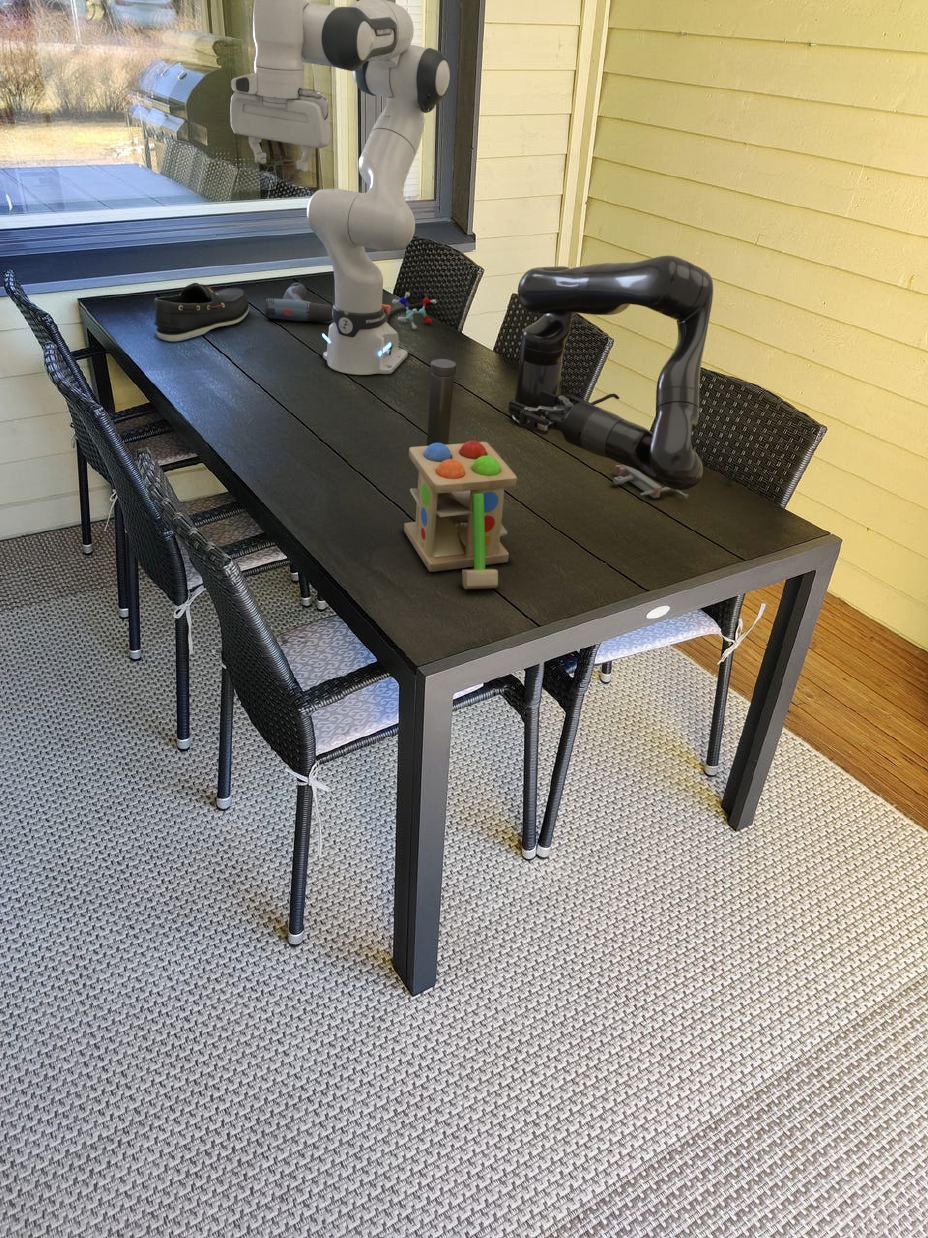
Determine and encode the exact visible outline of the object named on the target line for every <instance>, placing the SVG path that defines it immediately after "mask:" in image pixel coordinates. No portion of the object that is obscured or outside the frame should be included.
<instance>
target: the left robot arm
mask: <svg viewBox="0 0 928 1238" xmlns="http://www.w3.org/2000/svg"><path fill="white" fill-rule="evenodd" d="M252 11H253V13H252V14H253V15H252V17H253V18H252V20H253V21H252V29H253V30H252V31H253V40H254V44H255V51H256V52H255V59H254V72H250V73H247V74H244V75H240V76H237V77H234V78H232V79H231V82H230V83H231V89H232V91H234V92H233V94H232V95H231V98H230V126H231V129H232V131H233V133H234V134H235V135H241V136H246V137H248V144H249V146H250V148H251V150H252V153H253V154H254V163H255V164H261V165H263V164H266V163H267V153H266V152H263V149H262V147H261V144H260V143H261V142H262V140H268V141H274V142H280V143H284V144H285V143H286V144H291V145H297V146H300V152H301V153H302V156H301V158H300V159H298V160H296V161H295V162H296V171H297V172H303V173H305V172H308V170H309V161H310V159H311V157H312V155H313V153H314V149H324V148H327V147H328V146H329V144H330V143H331V141H332V140H331V139H332V136H331V135H332V133H331V124H330V115H329V114H330V103H329V100H328V99H327V97H326V96H325V95H324V94H323V92H321V91H318V90H315V91H314V90H310V89H305V67H304V64H305V63H306V64H312V65H319V66H324V67H325V66H326V67H332V68H337V69H340V70H345V71H349V72H352V74H353V79H354V82H355V84H356V86H357V88H358V89H359V90H360V91H361V92H363V93H365V94H367V95H370V96H371V97H372V96H374V97H377V96H378V97H381V98H384V99H386V105H385V107H384V108H383V110H382V112H381V113H380V114H379V116H378V118H377V119H376V121H375V123H374V125H373V127H372V129H371V131H370V134H369V135H368V138H367V140H366V143H365V145H364V147H363V149H362V152H361V154H360V156H359V158H358V171H359V175H360V177H361V178H362V180H363V182H364V183H365V184H366V185H367V186H368V187H369V188H368V190H367V191H366V192H358V191H353V190H347V189H344V188H343V189H342V188H323V189H322V188H321V189H318V190H316V191H315V192H314V193H313V194H312V196H311V197H310V198H309V200H308V203H307V207H306V218H307V222H308V225H309V227H310V229H311V231H312V232H313V233H314V234H315V235H316V236H317V238H319V240H320V241H321V243H322V244H323V246H324V248H325V250H326V252H327V254H328V256H329V259H330V262H331V266H332V271H333V279H334V281H333V282H334V303H333V305H332V307H333V311H332V314H333V320H332V323H331V324H330V325H329V326H328V336H326V335H325V333H322V334H321V335H322V337H323V339H324V340H325V341H326V342H327V346H326V347H327V348H326V351H324V352H323V353H322V358H323V359H324V360H326V362H327V363H326V365H327V366H328V367H329V368H330V369H332V370H334V371H336V372H339V373H341V374H342V373H343V374H347V375H356V376H369V375H379V374H380V375H389V374H392V373H393V372H394V371H395V370H396V369H397V368H398V367H399V366H400V365H401V364H402V363H403V361H405V360H406V359H407V357H408V356H409V354H408V353H409V351H407V350H405V349H403V348H401V347H399V345H400V344H399V343H400V342H399V341H400V340H399V339H400V337H399V333H398V331H397V330H396V329H394V328H393V327H392V325H391V324H390V322H389V319H390V318H391V317H392V316H393V315H394V314H397V313H400V312H403V311H407V310H406V308H405V306H404V305H403V306H401V307H398V308H394V309H393V310H391V308H392V306H391V305H390V304H385V303H383V292H384V290H383V288H384V277H383V276H384V275H383V273H382V271H381V269H380V268H379V266H377V265H376V264H375V263H374V262H373V261H372V260H371V259H370V257H369V256H368V253H367V252H366V250H365V248H367V249H372V250H377V251H383V252H395V251H402V250H404V249H405V248H407V247H408V246H409V244H410V243H411V242H412V240H413V237H414V236H415V231H416V220H415V216H414V213H413V211H412V209H411V208H410V206H409V205H408V203H407V201H406V199H405V194H404V193H405V191H404V189H405V184H406V181H407V178H408V175H409V173H410V170H411V168H412V165H413V163H414V161H415V158H416V156H417V153H418V150H419V148H420V144H421V140H422V137H423V133H424V129H425V124H426V118H425V114H427V113H430V112H432V111H433V110H434V109H435V107H436V105H438V104H440V102H441V101H442V100H443V99H444V98H445V96H446V95H447V92H448V90H449V87H450V82H451V66H450V63H449V59H448V58H447V56H446V55H445V54H444V53H443V52H441V51H439V50H437V49H435V48H432V47H423V46H419V45H415V44H412V41H413V38H414V33H415V31H414V30H415V29H414V22H413V19H412V17H411V15H410V13H409V12H408V11H407V10H406V8H404V7H403V6H401V5H399V4H397V3H396V2H393V1H390V0H355V2H352V3H351V4H349V5H348V6H337V5H336V6H335V5H328V4H321V3H320V4H319V3H310V1H309V0H253V10H252ZM427 294H428V292H427V293H424V294H423V293H422V296H423V298H428V299H429V294H428V295H427ZM429 300H430V299H429ZM423 305H424V302H423V301H421V302H418V303H412V304H408V305H407V307H408V309H409V310H411V309H416V308H420V307H423Z"/></svg>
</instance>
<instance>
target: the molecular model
mask: <svg viewBox="0 0 928 1238" xmlns="http://www.w3.org/2000/svg"><path fill="white" fill-rule="evenodd" d="M410 296H411V293H410V292H409V291H406V292H405V295H404V297H401V298H400V299H392V300H391V302H392V305H396V304H397V303H400V304H401V305H403V307H404V306H405V308H406V310H405V311H406V312H405V316H403V317H402V316H398V318H397V320H398V322H403V323H407V322H410V324H411V329H412V330H413V331H414V330H417V327H418V326H417V325H416V324H415V323H414V321H413V320H414V315H419V316H422V317H423V319H424V320H425V323H426V324H427V325H431V324H432V322H433V320H432V318H430V317H429V316H428V315H427V313H426V310H425V309H426V307H427V304H429V303H430V304H433V305H436V304H437V300H436V299H435V298H434V299H428V298H429V297H428V298H425V297H423V301H422V302H424V305H423V306H422V308H420V309H419V310H418V309H417V308H412V309H408V307H407V306H408V305H407V298H408V297H410Z"/></svg>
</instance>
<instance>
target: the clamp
mask: <svg viewBox="0 0 928 1238" xmlns="http://www.w3.org/2000/svg"><path fill="white" fill-rule="evenodd" d="M613 476H615V477H613V481H612V482H613V484H615V485H617V486H619V485H624V484H625V483H626V482H630V483H631V484H633V485H634V486H636V487H637V488H638V489H640V491H642V492H640V493H639V496H640V497H642V496H650V497H651V498H653V499H656V498H660V497H661V493H665V492H671V493H672V492H675V493H677V494H679V495H680V496H681V497H683V498H684V500H688V499H689V494H688V493H687V494H686V493H684V492H683V491H682V490H674V489H671V488H668V487H666V486H664V487H663V486H661V485H660V484H659V483H657V482H656V481H655V480H653V479H651V478H649V477H648V476H646V475H644V474H643V473H641V472H639V471H638V470H636V469H633V468H631V467H628V466H625V465H623V464H615V467H614V472H613Z"/></svg>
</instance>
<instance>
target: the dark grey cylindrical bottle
mask: <svg viewBox="0 0 928 1238" xmlns="http://www.w3.org/2000/svg"><path fill="white" fill-rule="evenodd" d="M454 380H455V374H454V375H453V376H447V377H443V376H437V375H434V374H432V373H431V376H430V388H429V389H430V392H429V406H428V418H427V419H428V420H427V435H426V436H427V437H426V446H429V445H431V444H433V443H442V444H444V445H450V444H449V443H450V431H451V418H452V406H453V405H452V404H453V392H454V382H455V381H454Z"/></svg>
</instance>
